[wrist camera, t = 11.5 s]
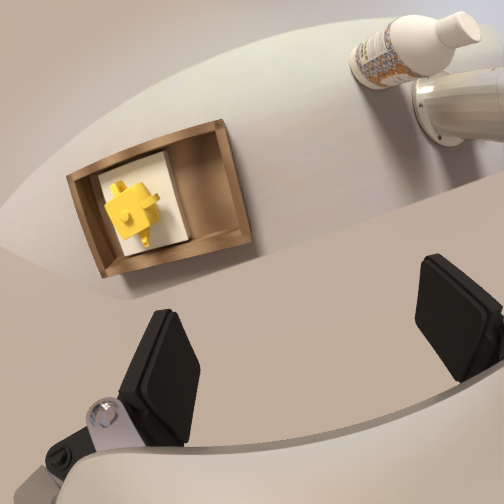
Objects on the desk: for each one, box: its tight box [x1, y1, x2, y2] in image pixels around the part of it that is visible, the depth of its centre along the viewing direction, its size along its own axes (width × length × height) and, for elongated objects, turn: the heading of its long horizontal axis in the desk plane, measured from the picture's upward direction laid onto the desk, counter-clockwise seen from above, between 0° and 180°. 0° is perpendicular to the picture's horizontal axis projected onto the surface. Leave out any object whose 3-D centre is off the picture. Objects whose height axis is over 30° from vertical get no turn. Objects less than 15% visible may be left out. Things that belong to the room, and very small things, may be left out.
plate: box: [98, 151, 191, 256], centre depth 32 cm, size 9×11×2 cm
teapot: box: [104, 180, 160, 247], centre depth 29 cm, size 8×6×5 cm
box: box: [66, 119, 253, 279], centre depth 31 cm, size 20×14×5 cm
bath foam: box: [349, 12, 481, 90], centre depth 19 cm, size 7×7×20 cm
